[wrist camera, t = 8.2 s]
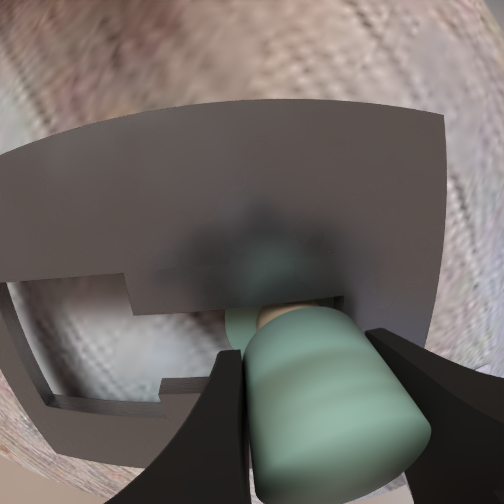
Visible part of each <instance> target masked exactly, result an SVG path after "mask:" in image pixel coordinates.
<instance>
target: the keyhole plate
mask: <svg viewBox="0 0 504 504" xmlns="http://www.w3.org/2000/svg"><path fill="white" fill-rule="evenodd" d="M446 196H447V160H446V138H445V125H444V115H441V114H436V113H431V112H426V111H421V110H415V109H409V108H403V107H396V106H389V105H381V104H372V103H362V102H351V101H337V100H316V99H261V100H240V101H226V102H214V103H204V104H195V105H187V106H180V107H173V108H166V109H160V110H154V111H148V112H143V113H137V114H132V115H128V116H123V117H118V118H114V119H110V120H105V121H101V122H97V123H93V124H90V125H86V126H82V127H79V128H75V129H72V130H68V131H65V132H62V133H59V134H55V135H52V136H49V137H46V138H43V139H41V140H38V141H35V142H32V143H29V144H27V145H24V146H21V147H19V148H16V149H14V150H11V151H9V152H6V153H4V154H2V155H0V369H1V371H2V373H3V375H4V376H5V378H6V380H7V382H8V384H9V385H10V387H11V389H12V391H13V392H14V394H15V396H16V397H17V399H18V401H19V402H20V404H21V405H22V407H23V408H24V410H25V411H26V413H27V415H28V416H29V417H30V419H31V420H32V422H33V423H34V425H35V426H36V428H37V429H38V430H39V432H40V433H41V434H42V436H43V437H44V438H45V440H46V441H47V442H48V444H49V445H50V446H51V447H52V449H53V450H54V451H55V452H56V453H58V454H62V455H66V456H70V457H74V458H79V459H84V460H89V461H94V462H99V463H105V464H112V465H119V466H126V467H135V468H145V469H146V468H147V467H148V466H149V465H150V464H151V463H152V461H153V460H154V459H155V458H156V457H157V456H158V455H159V454H160V453H161V451H162V450H163V449H164V448H165V447H166V446H167V444H168V443H169V442H170V441H171V439H172V438H173V437H174V435H175V434H176V433H177V431H178V430H179V429H180V427H181V426H182V424H183V423H184V421H185V420H186V418H187V416H188V415H189V413H190V412H191V410H192V408H193V407H194V405H195V403H196V402H197V400H198V398H199V396H200V394H201V392H202V390H203V388H204V386H205V384H206V382H207V380H208V378H209V377H191V378H162V381H161V385H160V389H159V394H158V395H159V397H160V400H161V402H126V401H110V400H98V399H88V398H79V397H71V396H64V395H57V394H53V392H52V391H51V389H50V387H49V385H48V383H47V381H46V379H45V377H44V376H43V374H42V372H41V370H40V368H39V365H38V363H37V361H36V359H35V357H34V355H33V353H32V351H31V348H30V346H29V344H28V341H27V339H26V337H25V334H24V332H23V329H22V327H21V324H20V322H19V319H18V316H17V313H16V311H15V308H14V305H13V302H12V299H11V296H10V293H9V290H8V286H7V283H6V282H15V281H29V280H42V279H55V278H68V277H81V276H93V275H105V274H117V273H124V278H125V283H126V287H127V291H128V295H129V300H130V304H131V307H132V311H133V315H153V314H170V313H185V312H198V311H211V310H223V309H234V308H244V307H254V306H263V305H272V304H281V303H290V302H298V301H306V300H313V299H321V298H328V297H334V307H333V309H335V310H338V311H341V312H343V313H344V314H346V315H348V316H349V317H350V318H351V319H352V320H353V321H354V322H355V323H356V324H357V326H358V327H359V328H360V329H361V331H362V332H363V333H364V335H365V331H366V330H371V329H376V328H384V329H386V330H388V331H391V332H393V333H395V334H397V335H399V336H401V337H403V338H404V339H406V340H408V341H410V342H412V343H414V344H416V345H418V346H420V347H422V348H424V347H425V343H426V339H427V335H428V331H429V327H430V322H431V318H432V313H433V308H434V303H435V298H436V293H437V287H438V281H439V274H440V267H441V260H442V252H443V242H444V231H445V218H446ZM249 468H252V460H251V452H250V443H249Z"/></svg>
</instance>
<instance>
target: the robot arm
mask: <svg viewBox="0 0 504 504" xmlns="http://www.w3.org/2000/svg"><path fill="white" fill-rule="evenodd" d="M365 336H366V337H367V339H368V340H369V341H370V343H371V344H372V345H373V347H374V348H375V349H376V351H377V352H378V353H379V355H380V356H381V357H382V359H383V360H384V361H385V363H386V364H387V365H388V367H389V368H390V369H391V371H392V372H393V373H394V375H395V376H396V377H397V379H398V380H399V382H400V383H401V384H402V386H403V387H404V388H405V390H406V391H407V393H408V394H409V395H410V397H411V398H412V399H413V401H414V402H415V404H416V405H417V406H418V408H419V409H420V411H421V412H422V414H423V415H424V416H425V418H426V419H427V421H428V422H429V424H430V426H431V436H430V439H429V442H428V444H427V446H426V448H425V449H424V451H423V452H422V454H421V455H420V456H419V457H418V458H417V460H416V461H415V462H414V463H413V464H412V465H411V466H410V467H409V468H408V469H406V470H405V471H404V472H403V473H402V474H401V475H402V477H403V479H404V481H405V483H406V485H407V487H408V489H409V491H410V493H411V495H412V497H413V501H414V504H504V378H501V377H496V376H492V375H488V374H489V372H490V369H491V366H490V365H489V364H486V365H484V366H482V367H480V368H478V369H476V370H472V369H469V368H467V367H464V366H461V365H459V364H457V363H454V362H452V361H450V360H447V359H445V358H443V357H440V356H438V355H436V354H434V353H432V352H430V351H428V350H426V349H424V348H422V347H420V346H418V345H416V344H414V343H412V342H410V341H408V340H406V339H404V338H403V337H401V336H399V335H397V334H395V333H393V332H391V331H388V330H386V329H384V328H376V329H371V330H366V331H365ZM104 504H252V503H251V494H250V481H249V434H248V424H247V415H246V405H245V392H244V377H243V367H242V358H241V349H238V350H227V351H220V352H219V353H218V354H217V357H216V361H215V364H214V366H213V369H212V371H211V374H210V376H209V378H208V380H207V382H206V384H205V386H204V388H203V390H202V392H201V394H200V396H199V398H198V400H197V402H196V403H195V405H194V407H193V408H192V410H191V412H190V413H189V415H188V416H187V418H186V420H185V421H184V423H183V424H182V426H181V427H180V429H179V430H178V431H177V433H176V434H175V435H174V437H173V438H172V439H171V441H170V442H169V443H168V444H167V446H166V447H165V448H164V449H163V450H162V451H161V453H160V454H159V455H158V456H157V457H156V458H155V459H154V460H153V461H152V463H151V464H150V465H149V466H148V467H147V468H146V469H145V470H144V471H143V472H142V473H141V474H140V475H138V476H137V477H136V478H135V479H134V480H133V481H132V482H130V483H129V484H128V485H127V486H126V487H125V488H123V489H122V490H121V491H120V492H119V493H118V494H116V495H115V496H114V497H112V498H111V499H110V500H108V501H107V502H105V503H104Z"/></svg>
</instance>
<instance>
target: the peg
mask: <svg viewBox="0 0 504 504" xmlns="http://www.w3.org/2000/svg"><path fill="white" fill-rule="evenodd" d="M333 307H334V297H328V298H321V299H313V300H306V301H298V302H290V303H281V304H272V305H263V306H254V307H244V308H234V309H225V330H226V335H227V338H228V341H229V342H230V344H231V346H232V348H233V349H234V350H238V349H241V358H242V367H243V377H244V392H245V405H246V415H247V424H248V434H249V443H250V452H251V460H252V469H253V477H254V486H255V493H256V496H257V497H258V499H259V500H260V501H261V502H263V503H264V504H343V503H346V502H350V501H352V500H355V499H358V498H360V497H363V496H365V495H367V494H369V493H371V492H373V491H375V490H377V489H379V488H381V487H382V486H384V485H386V484H387V483H389V482H390V481H392V480H393V479H395V478H396V477H398V476H399V475H400V474H402V473H403V472H404V471H405V470H406V469H408V468H409V467H410V466H411V465H412V464H413V463H414V462H415V461H416V460H417V458H418V457H419V456H420V455H421V454H422V452H423V451H424V449H425V448H426V446H427V444H428V442H429V439H430V436H431V426H430V424H429V422H428V421H427V419H426V418H425V416H424V415H423V414H422V412H421V411H420V409H419V408H418V406H417V405H416V404H415V402H414V401H413V399H412V398H411V397H410V395H409V394H408V393H407V391H406V390H405V388H404V387H403V386H402V384H401V383H400V382H399V380H398V379H397V377H396V376H395V375H394V373H393V372H392V371H391V369H390V368H389V367H388V365H387V364H386V363H385V361H384V360H383V359H382V357H381V356H380V355H379V353H378V352H377V351H376V349H375V348H374V347H373V345H372V344H371V343H370V341H369V340H368V339H367V337H366V336H365V335H364V333H363V332H362V331H361V329H360V328H359V327H358V326H357V324H356V323H355V322H354V321H353V320H352V319H351V318H350V317H349V316H348V315H346V314H344V313H343V312H341V311H338V310H335V309H333Z"/></svg>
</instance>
